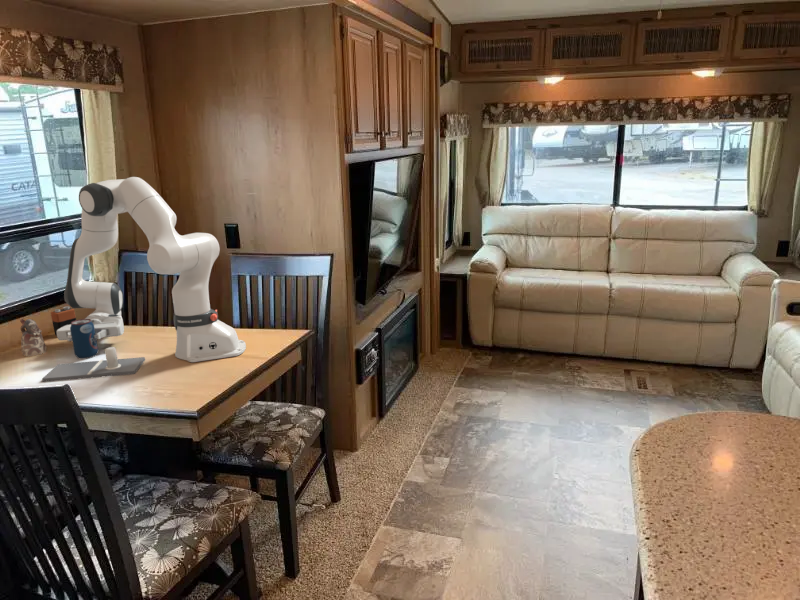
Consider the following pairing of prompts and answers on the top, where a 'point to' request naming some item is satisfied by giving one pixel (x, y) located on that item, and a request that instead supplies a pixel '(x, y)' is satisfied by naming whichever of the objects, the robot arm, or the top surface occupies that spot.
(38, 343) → the figurine
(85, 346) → the soda can
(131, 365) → the board
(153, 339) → the top surface
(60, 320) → the battery
